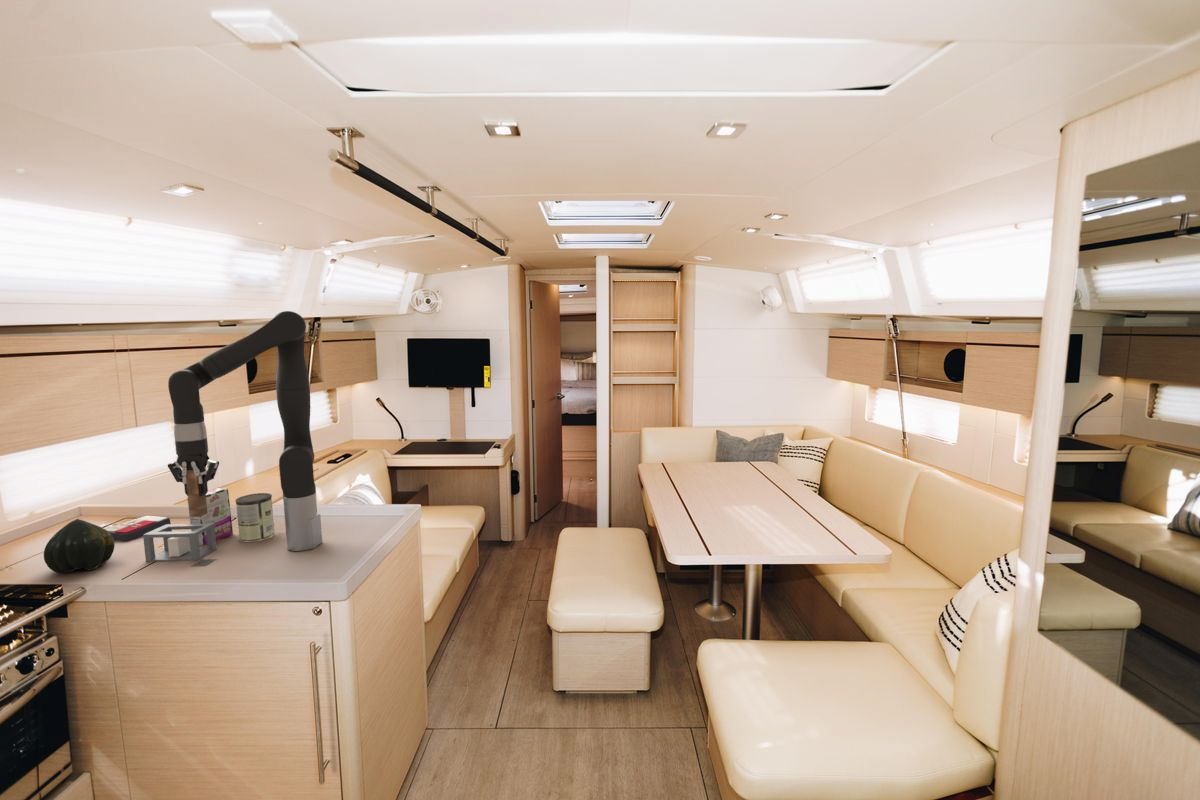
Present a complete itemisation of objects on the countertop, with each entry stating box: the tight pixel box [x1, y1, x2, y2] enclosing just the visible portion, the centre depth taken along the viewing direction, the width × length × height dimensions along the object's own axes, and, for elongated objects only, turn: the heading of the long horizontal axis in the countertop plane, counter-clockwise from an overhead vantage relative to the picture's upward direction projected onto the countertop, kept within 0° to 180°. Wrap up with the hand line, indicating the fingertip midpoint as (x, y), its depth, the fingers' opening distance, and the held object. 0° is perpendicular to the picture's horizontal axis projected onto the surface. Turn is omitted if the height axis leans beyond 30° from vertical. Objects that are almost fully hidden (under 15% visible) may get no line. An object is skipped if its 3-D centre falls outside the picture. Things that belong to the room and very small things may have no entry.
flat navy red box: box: [104, 515, 172, 543], centre depth 188 cm, size 11×4×15 cm
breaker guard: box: [142, 523, 218, 563], centre depth 166 cm, size 15×9×9 cm, turn 92°
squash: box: [43, 518, 116, 574], centre depth 159 cm, size 14×15×15 cm
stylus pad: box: [191, 558, 218, 567], centre depth 161 cm, size 4×5×1 cm
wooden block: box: [186, 470, 207, 518], centre depth 159 cm, size 3×3×14 cm
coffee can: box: [235, 492, 276, 543], centre depth 182 cm, size 10×10×14 cm
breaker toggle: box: [167, 537, 190, 557], centre depth 166 cm, size 3×5×7 cm, turn 2°
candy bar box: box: [186, 487, 234, 546], centre depth 180 cm, size 11×5×16 cm, turn 168°
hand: (196, 495), depth 159 cm, fingers closed on wooden block, 3 cm apart
